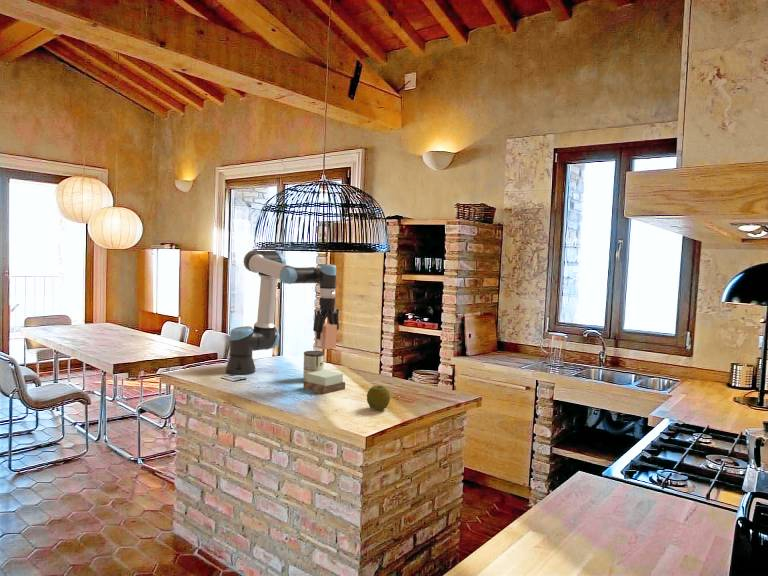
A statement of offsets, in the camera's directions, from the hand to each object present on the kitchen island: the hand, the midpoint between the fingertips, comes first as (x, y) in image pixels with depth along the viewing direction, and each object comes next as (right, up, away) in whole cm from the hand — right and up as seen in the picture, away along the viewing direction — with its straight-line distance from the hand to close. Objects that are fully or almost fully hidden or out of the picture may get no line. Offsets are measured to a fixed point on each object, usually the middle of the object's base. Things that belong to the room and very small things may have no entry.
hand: (325, 345), depth 271 cm
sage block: (-1, -18, +1) cm, 18 cm away
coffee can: (-8, -20, +19) cm, 28 cm away
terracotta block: (0, -1, 0) cm, 1 cm away
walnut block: (-1, -22, +2) cm, 22 cm away
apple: (+25, -24, -29) cm, 46 cm away
